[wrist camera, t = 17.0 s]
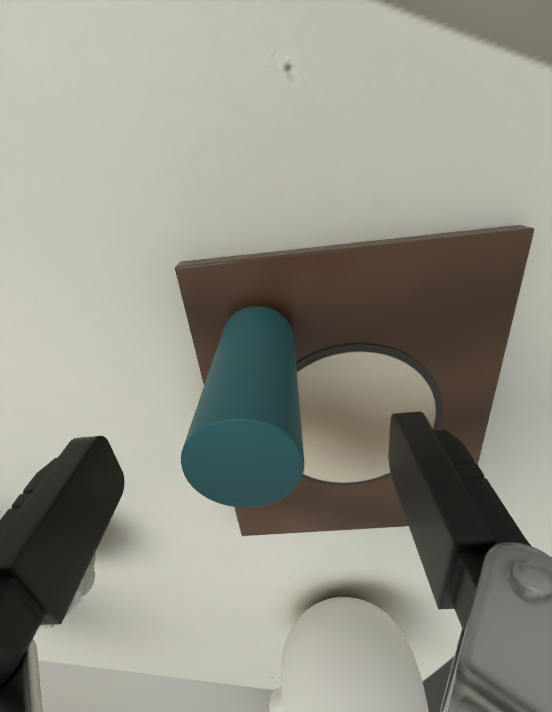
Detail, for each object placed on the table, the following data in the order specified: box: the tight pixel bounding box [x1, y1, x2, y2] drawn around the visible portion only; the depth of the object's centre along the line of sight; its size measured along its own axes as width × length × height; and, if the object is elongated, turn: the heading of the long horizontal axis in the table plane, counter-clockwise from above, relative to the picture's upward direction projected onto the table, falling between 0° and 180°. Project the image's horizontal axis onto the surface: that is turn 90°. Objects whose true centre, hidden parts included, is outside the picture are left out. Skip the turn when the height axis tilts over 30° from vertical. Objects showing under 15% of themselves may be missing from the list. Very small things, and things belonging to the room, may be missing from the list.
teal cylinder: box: [181, 306, 304, 507], centre depth 13 cm, size 3×3×9 cm
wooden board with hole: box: [175, 225, 534, 536], centre depth 20 cm, size 20×16×1 cm
